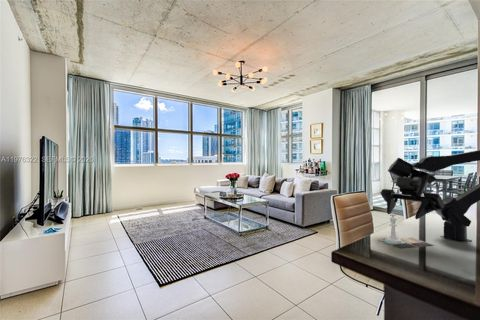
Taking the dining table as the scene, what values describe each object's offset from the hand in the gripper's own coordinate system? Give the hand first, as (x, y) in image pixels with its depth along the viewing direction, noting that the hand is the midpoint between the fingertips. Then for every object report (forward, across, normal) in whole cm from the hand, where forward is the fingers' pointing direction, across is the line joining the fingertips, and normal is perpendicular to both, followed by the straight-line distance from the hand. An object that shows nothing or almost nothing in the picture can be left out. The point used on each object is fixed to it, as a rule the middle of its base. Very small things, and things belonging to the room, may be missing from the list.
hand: (401, 215), depth 81 cm
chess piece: (+10, 0, +2) cm, 10 cm away
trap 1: (+11, +4, +1) cm, 12 cm away
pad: (+10, 0, +2) cm, 10 cm away
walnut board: (+8, +2, +5) cm, 10 cm away
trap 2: (+6, +6, +6) cm, 10 cm away
